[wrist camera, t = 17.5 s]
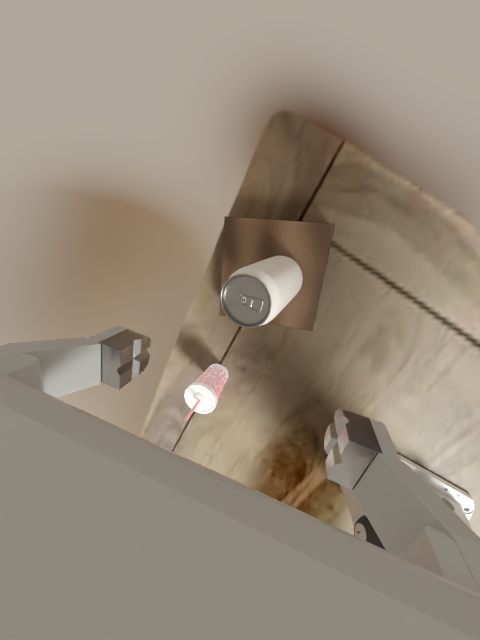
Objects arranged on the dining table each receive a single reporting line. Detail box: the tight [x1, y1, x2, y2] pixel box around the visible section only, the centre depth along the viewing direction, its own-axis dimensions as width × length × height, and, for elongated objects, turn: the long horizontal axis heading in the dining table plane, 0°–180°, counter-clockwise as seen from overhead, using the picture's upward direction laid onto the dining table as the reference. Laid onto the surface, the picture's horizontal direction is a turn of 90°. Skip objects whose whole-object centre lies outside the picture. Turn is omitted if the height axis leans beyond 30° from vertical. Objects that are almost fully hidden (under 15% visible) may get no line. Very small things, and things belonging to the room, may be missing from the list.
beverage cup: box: [184, 364, 228, 421], centre depth 41 cm, size 6×6×14 cm
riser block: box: [219, 217, 335, 331], centre depth 36 cm, size 15×15×6 cm
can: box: [220, 256, 303, 328], centre depth 27 cm, size 6×6×12 cm
